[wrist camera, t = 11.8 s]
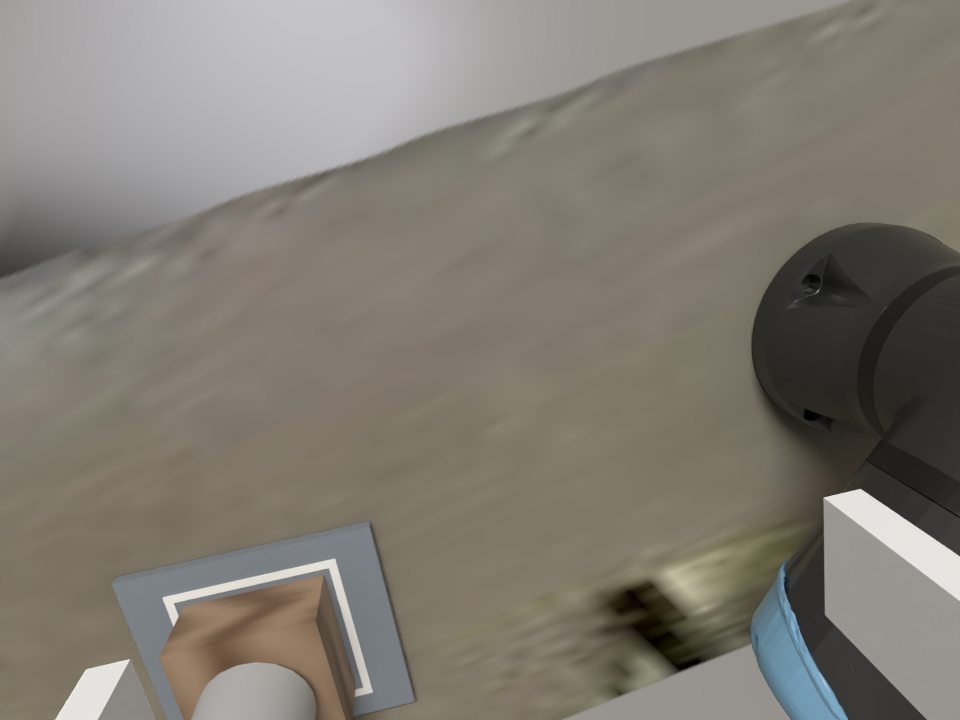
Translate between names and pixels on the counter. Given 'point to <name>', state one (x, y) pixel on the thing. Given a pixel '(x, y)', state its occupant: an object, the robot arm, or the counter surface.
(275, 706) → the can
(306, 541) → the grey flat plate
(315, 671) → the walnut block
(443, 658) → the counter surface
